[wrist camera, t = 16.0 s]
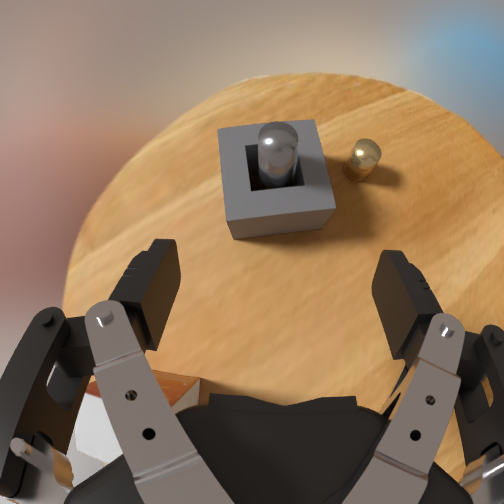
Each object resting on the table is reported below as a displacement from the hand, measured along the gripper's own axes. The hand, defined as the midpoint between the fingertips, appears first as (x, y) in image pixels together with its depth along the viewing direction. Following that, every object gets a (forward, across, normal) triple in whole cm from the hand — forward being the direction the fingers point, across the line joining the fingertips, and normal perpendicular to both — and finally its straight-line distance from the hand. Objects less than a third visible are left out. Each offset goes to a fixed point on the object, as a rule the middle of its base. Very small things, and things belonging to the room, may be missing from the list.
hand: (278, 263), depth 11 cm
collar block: (+23, 0, +6) cm, 24 cm away
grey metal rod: (+23, 0, +7) cm, 24 cm away
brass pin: (+26, -10, +4) cm, 28 cm away
